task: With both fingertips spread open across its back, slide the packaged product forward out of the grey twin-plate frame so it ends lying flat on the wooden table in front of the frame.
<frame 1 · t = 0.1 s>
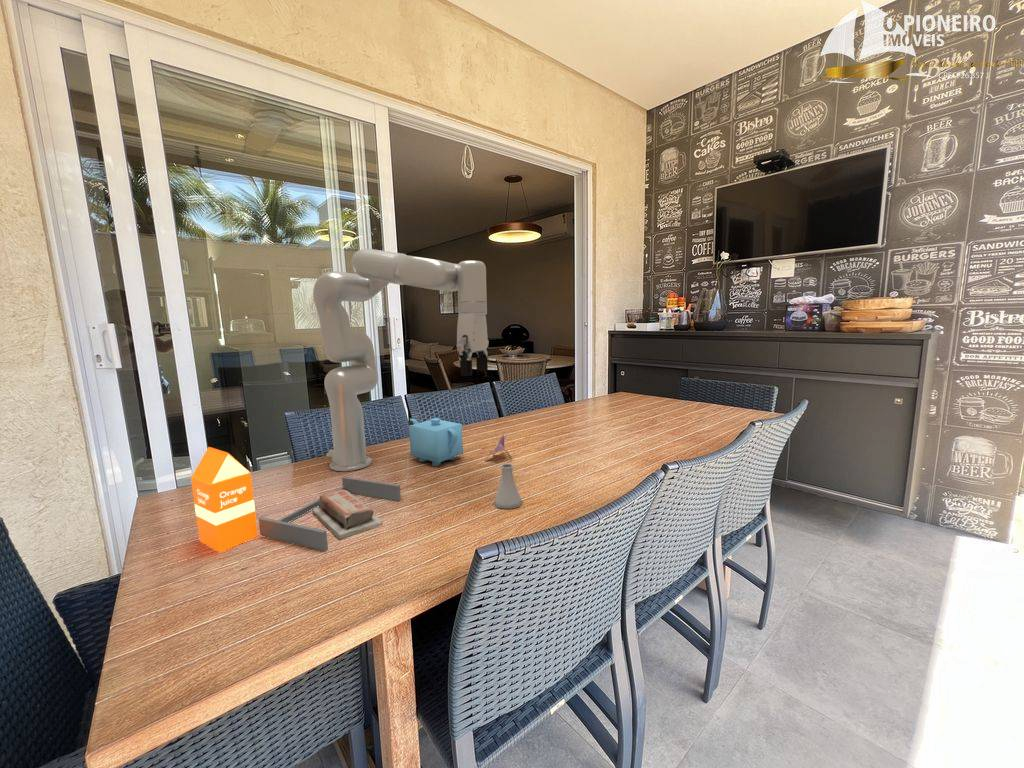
hand: (474, 373, 115), 31 cm above the table, tool pointing down, fingers open, 9 cm apart
lily: (499, 459, 140), on the table
packaged product: (346, 521, 100), on the table
grey twin-plate frame: (335, 516, 101), on the table
flask: (507, 504, 107), on the table
orange juice: (229, 540, 91), on the table
teapot: (433, 459, 141), on the table
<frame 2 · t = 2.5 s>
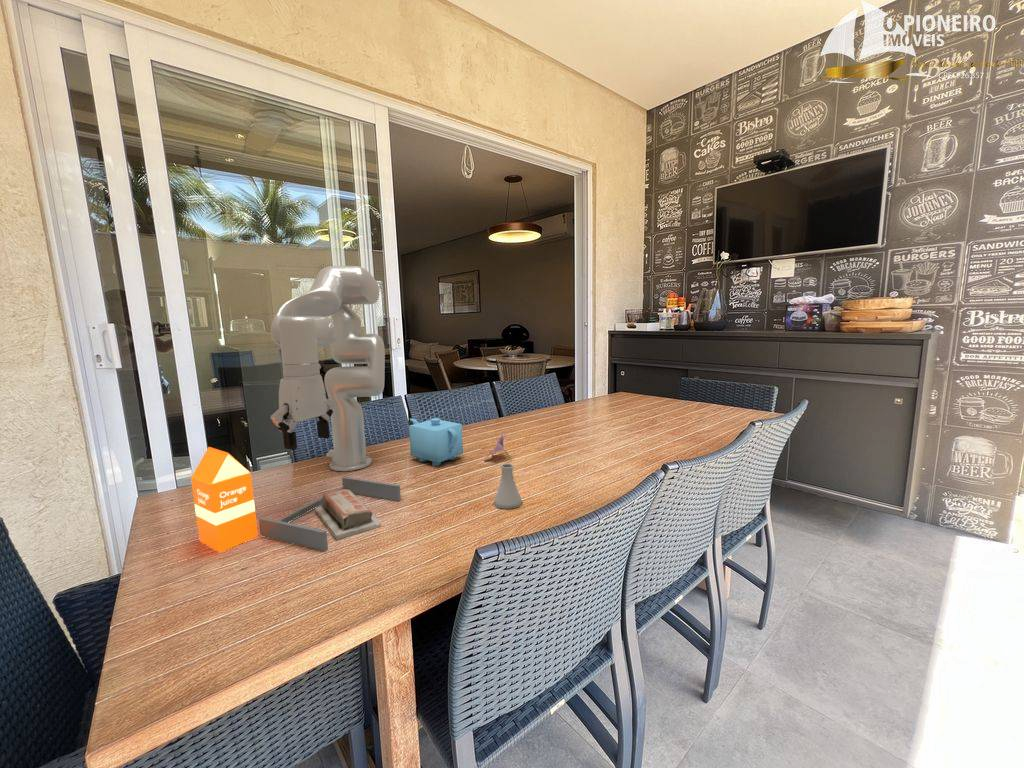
hand: (308, 443, 100), 17 cm above the table, tool pointing down, fingers open, 9 cm apart
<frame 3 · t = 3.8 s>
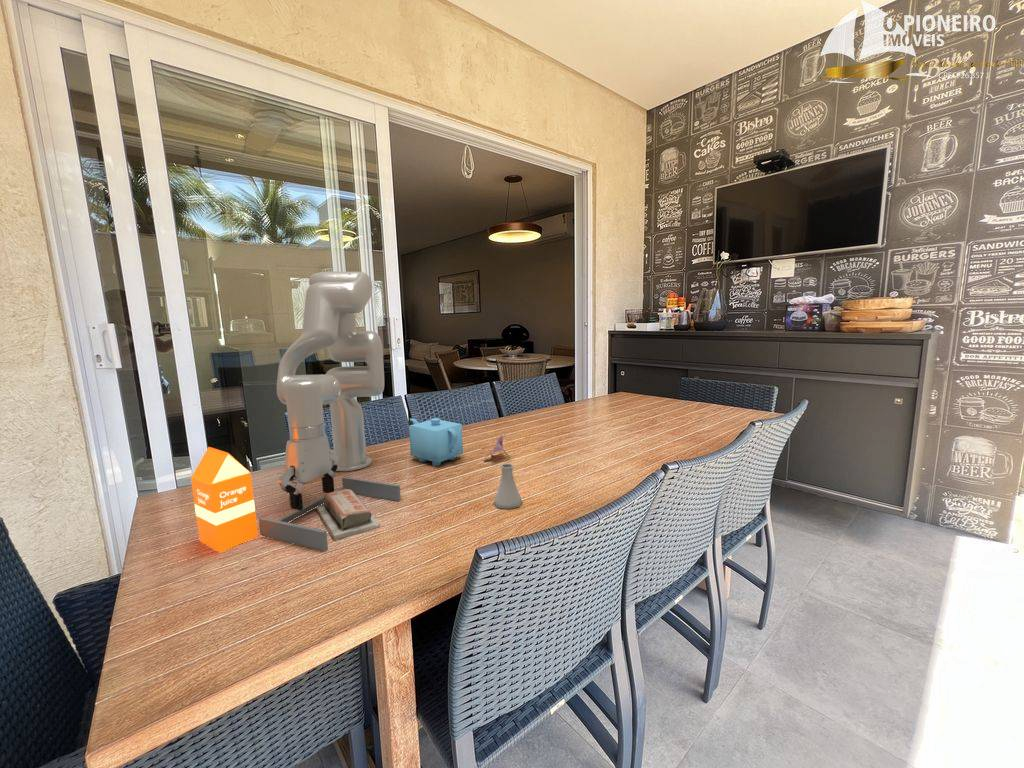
hand: (313, 500, 102), 3 cm above the table, tool pointing down, fingers open, 9 cm apart
nothing on the table moved.
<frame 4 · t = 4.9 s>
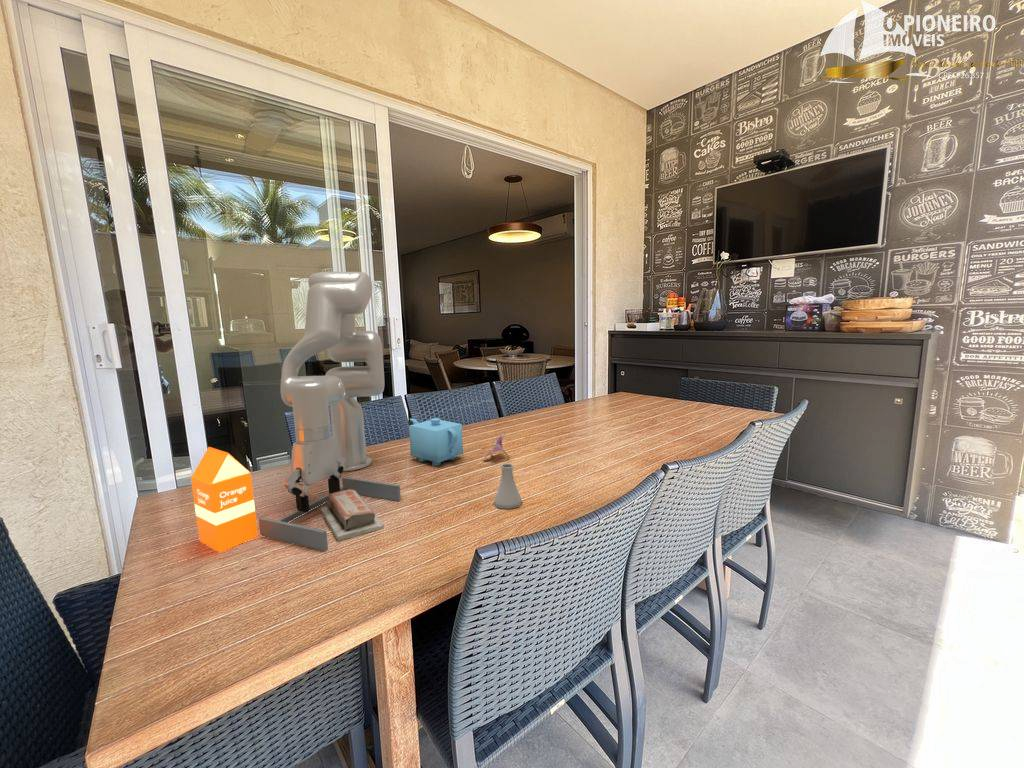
hand: (319, 502, 102), 3 cm above the table, tool pointing down, fingers open, 9 cm apart
packaged product: (350, 521, 99), on the table, touching gripper
everything else where it was.
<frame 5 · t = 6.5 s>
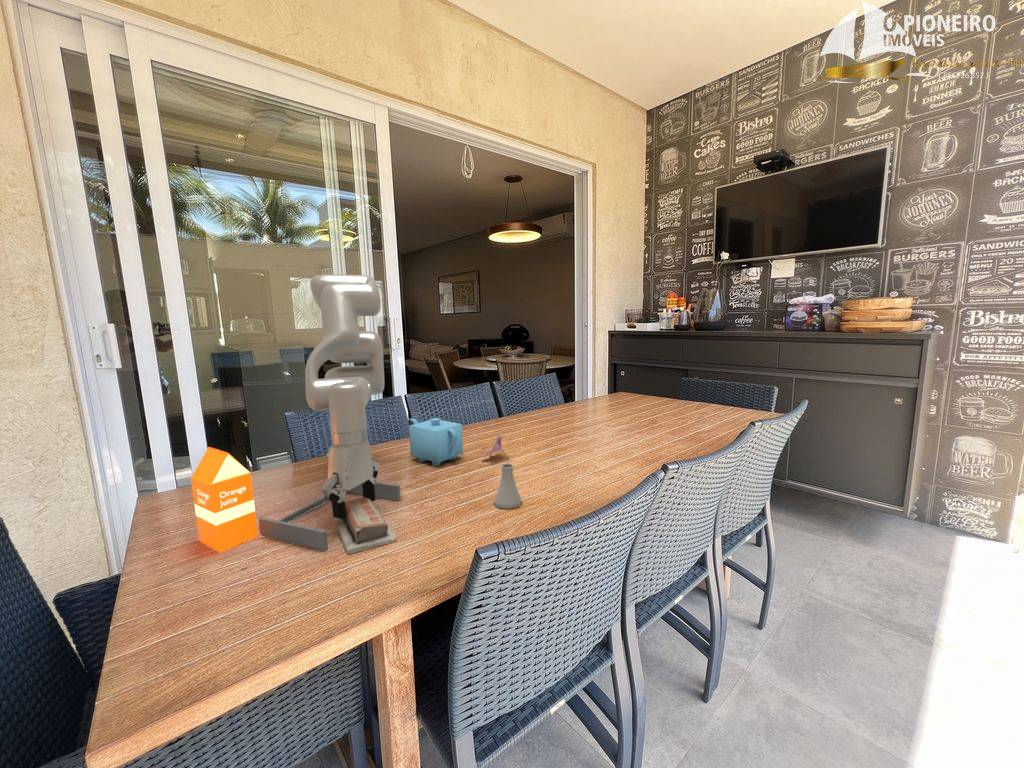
hand: (355, 508, 98), 3 cm above the table, tool pointing down, fingers open, 9 cm apart
packaged product: (363, 532, 94), on the table, touching gripper
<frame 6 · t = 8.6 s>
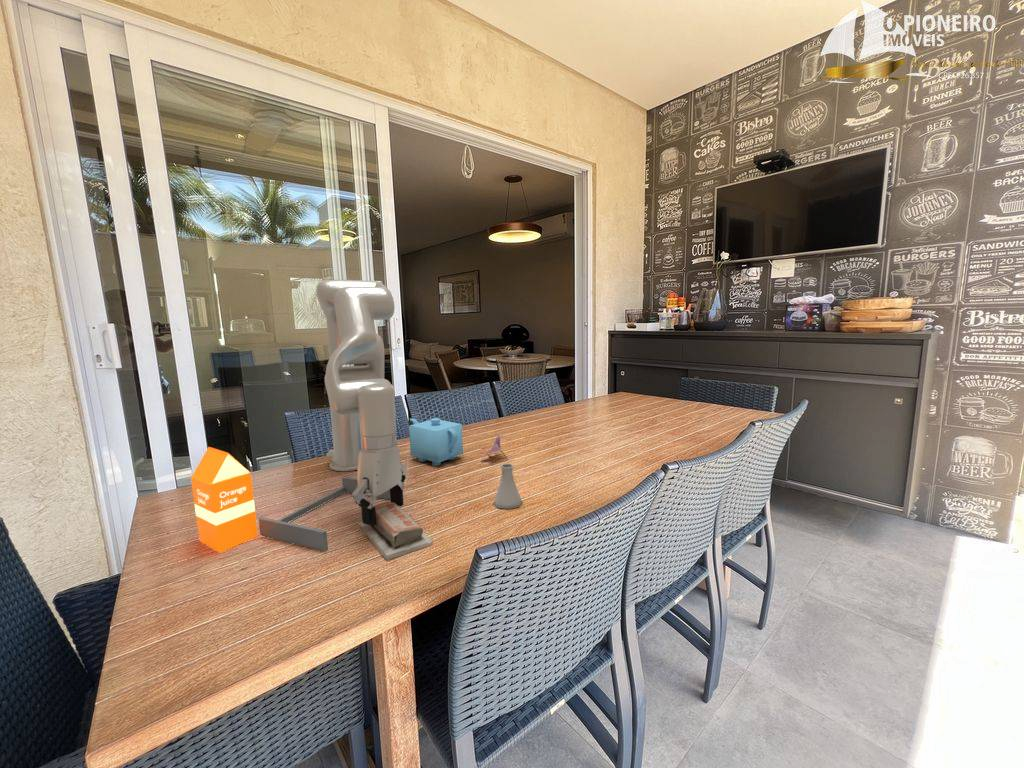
hand: (384, 514, 95), 3 cm above the table, tool pointing down, fingers open, 9 cm apart
packaged product: (394, 537, 92), on the table
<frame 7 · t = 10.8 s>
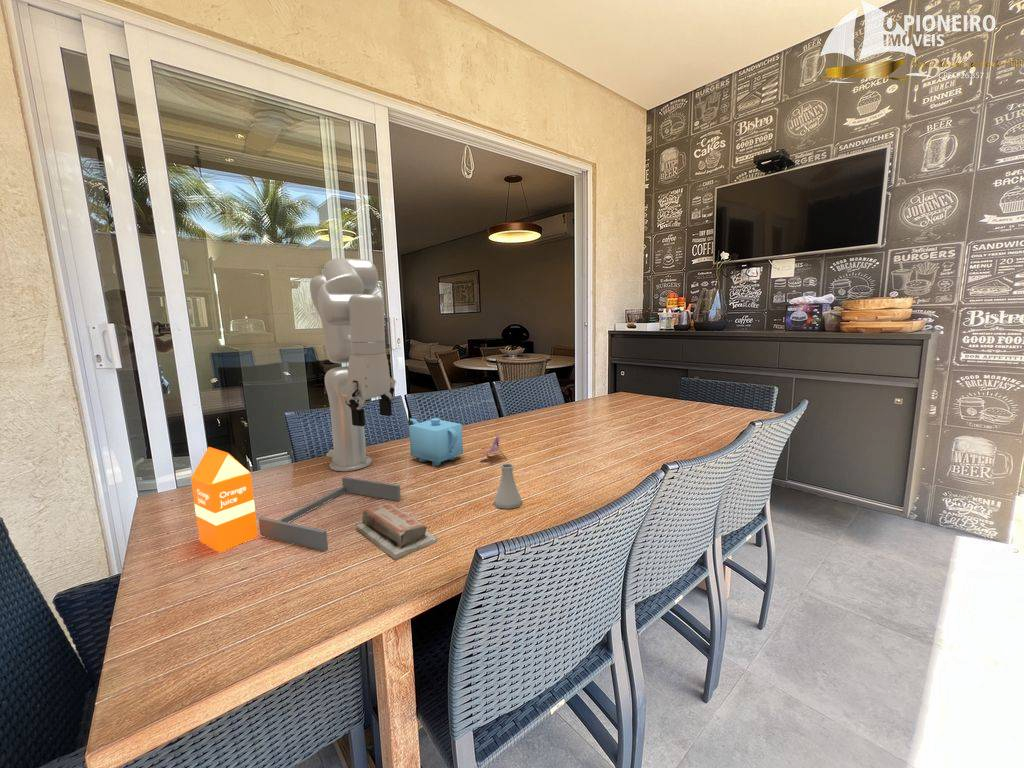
hand: (372, 420, 102), 22 cm above the table, tool pointing down, fingers open, 9 cm apart
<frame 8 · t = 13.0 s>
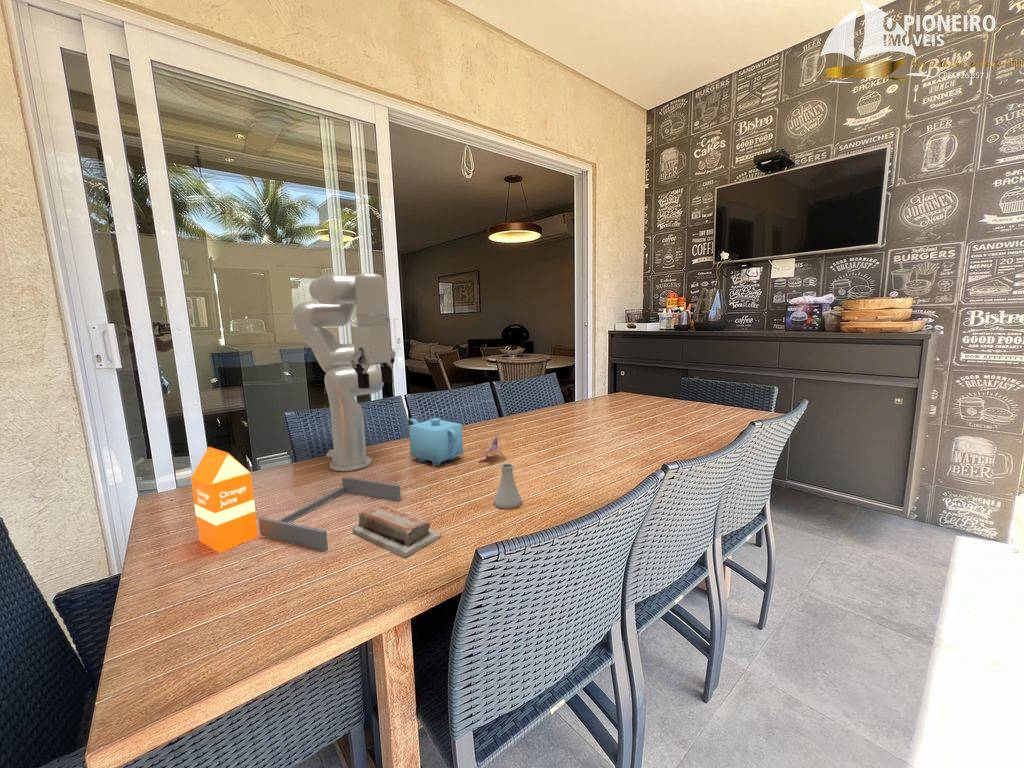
hand: (376, 385, 116), 28 cm above the table, tool pointing down, fingers open, 9 cm apart
at the end: packaged product inside the target area (3.0 cm from its centre), on the table; packaged product tilted 0°; packaged product touching table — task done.
